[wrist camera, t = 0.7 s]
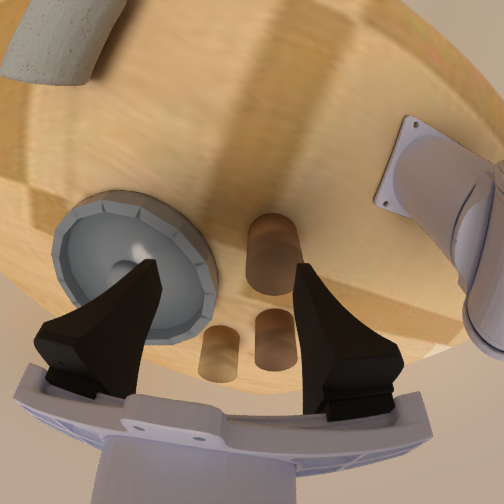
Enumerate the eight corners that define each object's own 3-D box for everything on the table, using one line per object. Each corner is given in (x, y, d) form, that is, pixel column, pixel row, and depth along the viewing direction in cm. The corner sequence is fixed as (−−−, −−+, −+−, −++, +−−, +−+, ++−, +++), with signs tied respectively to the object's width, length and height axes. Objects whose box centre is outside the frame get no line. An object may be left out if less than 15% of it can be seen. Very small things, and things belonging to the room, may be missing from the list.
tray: (234, 210, 21) (231, 224, 19) (207, 342, 30) (204, 358, 28) (55, 179, 19) (40, 189, 17) (78, 308, 28) (71, 321, 27)
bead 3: (298, 311, 27) (303, 351, 23) (286, 335, 29) (289, 373, 25) (260, 305, 27) (260, 345, 23) (251, 330, 29) (250, 368, 25)
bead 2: (303, 219, 21) (314, 255, 17) (288, 259, 24) (294, 299, 19) (254, 208, 21) (253, 242, 17) (243, 250, 23) (240, 290, 19)
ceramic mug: (153, -7, 11) (101, -41, 5) (105, 85, 15) (37, 94, 9) (62, -14, 9) (5, -26, 2) (27, 64, 13) (-34, 74, 6)
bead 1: (242, 329, 29) (240, 367, 25) (235, 349, 31) (233, 385, 27) (206, 322, 28) (199, 360, 24) (202, 343, 31) (196, 379, 26)
